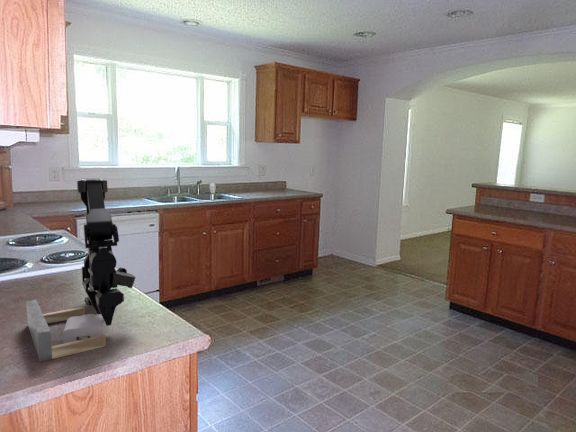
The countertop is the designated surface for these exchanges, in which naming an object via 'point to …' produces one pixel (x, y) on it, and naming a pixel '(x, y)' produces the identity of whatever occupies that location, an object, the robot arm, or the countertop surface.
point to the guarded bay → (43, 336)
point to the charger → (83, 327)
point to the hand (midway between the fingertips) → (104, 319)
